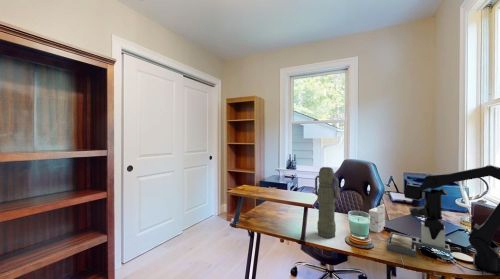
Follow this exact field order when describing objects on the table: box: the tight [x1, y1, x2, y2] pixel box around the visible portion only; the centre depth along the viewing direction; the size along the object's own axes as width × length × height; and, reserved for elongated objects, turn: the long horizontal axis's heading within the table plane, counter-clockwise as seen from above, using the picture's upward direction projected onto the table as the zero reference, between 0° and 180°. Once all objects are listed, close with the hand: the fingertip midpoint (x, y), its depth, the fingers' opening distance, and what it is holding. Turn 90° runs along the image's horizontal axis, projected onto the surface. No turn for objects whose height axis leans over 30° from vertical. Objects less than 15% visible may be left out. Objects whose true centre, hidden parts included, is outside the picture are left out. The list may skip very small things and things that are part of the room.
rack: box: [386, 231, 451, 258], centre depth 97 cm, size 22×17×4 cm
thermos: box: [314, 166, 340, 239], centre depth 114 cm, size 9×12×35 cm
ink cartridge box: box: [368, 203, 386, 233], centre depth 119 cm, size 9×5×15 cm, turn 126°
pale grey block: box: [420, 221, 446, 248], centre depth 97 cm, size 8×2×10 cm, turn 52°
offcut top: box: [392, 234, 412, 246], centre depth 97 cm, size 7×4×2 cm, turn 52°
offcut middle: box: [391, 239, 411, 249], centre depth 97 cm, size 7×4×2 cm, turn 52°
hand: (433, 238), depth 97 cm, fingers closed on pale grey block, 2 cm apart
